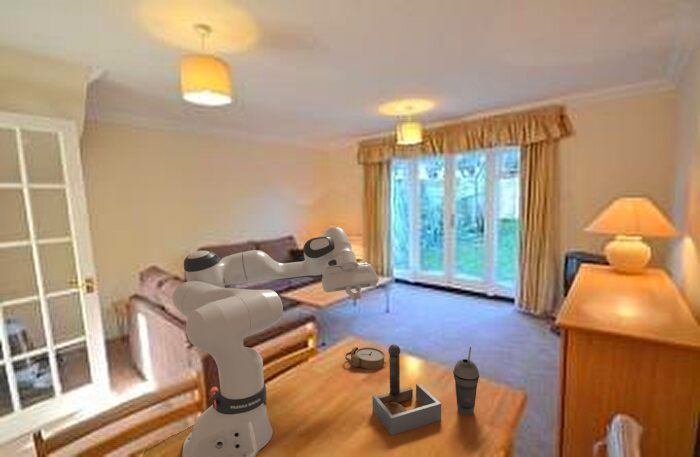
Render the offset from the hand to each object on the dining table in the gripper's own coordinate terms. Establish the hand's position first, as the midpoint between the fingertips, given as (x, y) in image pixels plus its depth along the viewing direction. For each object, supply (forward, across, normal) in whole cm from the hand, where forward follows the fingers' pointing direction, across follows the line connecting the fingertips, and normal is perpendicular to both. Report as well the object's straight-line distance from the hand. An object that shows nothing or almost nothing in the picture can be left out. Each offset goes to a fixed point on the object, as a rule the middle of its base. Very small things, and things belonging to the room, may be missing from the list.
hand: (356, 298), depth 123 cm
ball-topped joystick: (+33, -4, -7) cm, 34 cm away
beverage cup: (+42, -21, +1) cm, 47 cm away
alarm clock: (+14, -7, -26) cm, 31 cm away
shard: (+37, -3, -4) cm, 37 cm away
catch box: (+38, -4, -2) cm, 38 cm away
